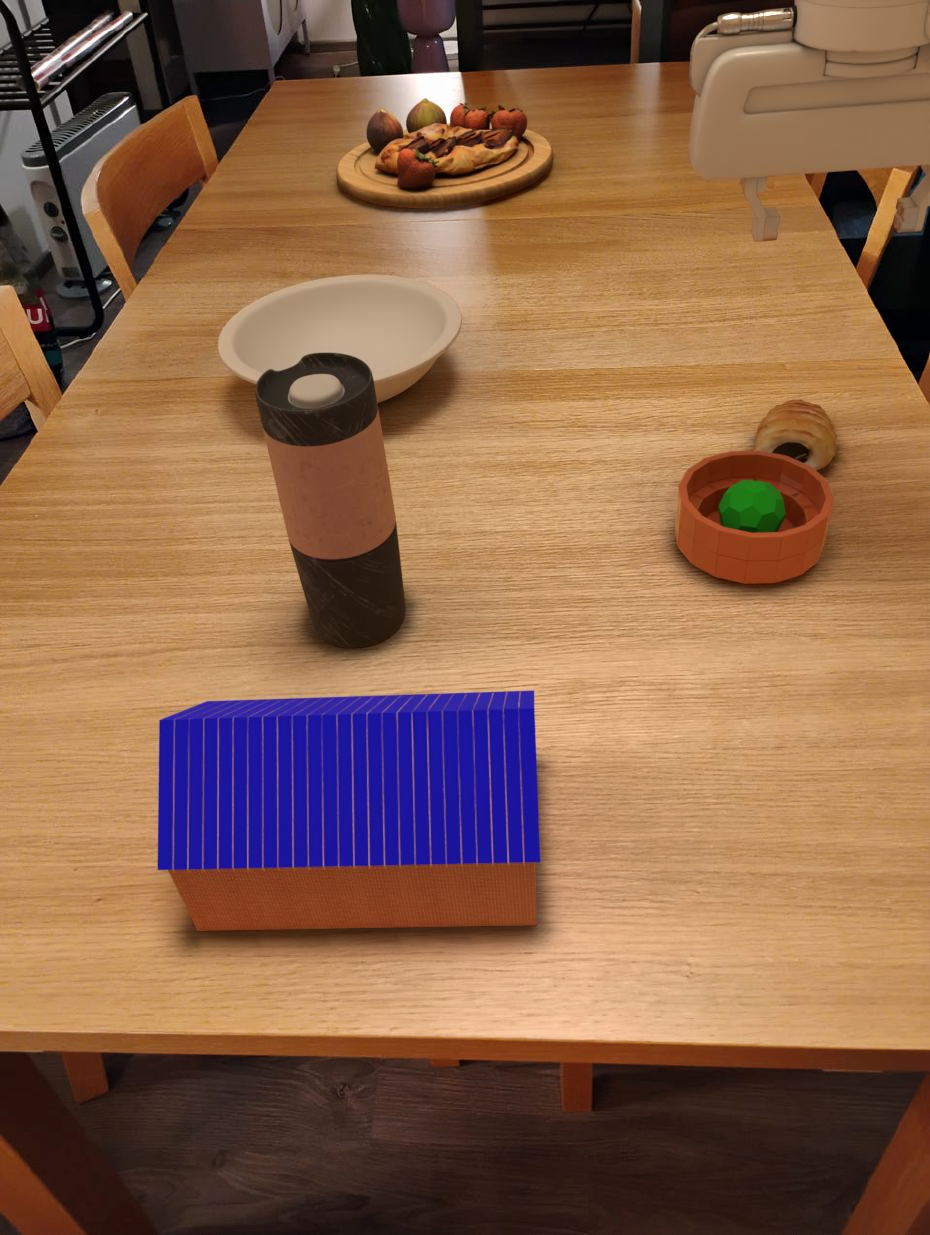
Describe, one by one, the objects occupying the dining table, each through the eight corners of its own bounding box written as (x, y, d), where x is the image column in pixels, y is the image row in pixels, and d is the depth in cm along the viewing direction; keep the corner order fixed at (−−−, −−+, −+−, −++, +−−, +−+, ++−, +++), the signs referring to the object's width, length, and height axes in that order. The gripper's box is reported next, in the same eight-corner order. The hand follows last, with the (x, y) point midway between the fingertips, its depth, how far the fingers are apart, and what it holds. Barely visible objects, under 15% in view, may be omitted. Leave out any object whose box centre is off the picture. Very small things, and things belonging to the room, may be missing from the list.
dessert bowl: (806, 499, 82) (816, 448, 79) (835, 588, 74) (847, 535, 71) (669, 502, 83) (673, 452, 80) (682, 590, 75) (687, 538, 72)
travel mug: (397, 654, 72) (358, 413, 59) (297, 648, 73) (235, 411, 60) (418, 585, 78) (385, 351, 64) (324, 580, 79) (273, 350, 65)
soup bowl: (263, 476, 91) (247, 413, 86) (211, 364, 107) (196, 306, 103) (504, 409, 96) (500, 346, 92) (419, 313, 113) (413, 256, 109)
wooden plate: (482, 226, 130) (478, 160, 125) (293, 196, 144) (282, 135, 138) (591, 149, 150) (591, 89, 144) (415, 128, 163) (410, 73, 158)
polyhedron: (759, 511, 80) (767, 461, 77) (793, 546, 77) (802, 495, 74) (704, 526, 80) (709, 477, 76) (735, 562, 76) (742, 512, 73)
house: (232, 769, 65) (185, 642, 57) (537, 761, 64) (531, 629, 56) (190, 936, 56) (128, 812, 49) (543, 930, 55) (537, 801, 47)
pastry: (761, 414, 92) (767, 377, 90) (838, 423, 90) (846, 385, 88) (748, 470, 86) (754, 432, 83) (830, 481, 84) (839, 442, 81)
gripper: (698, 29, 57) (684, 263, 67) (1074, -4, 55) (1005, 242, 64) (686, 4, 62) (675, 226, 71) (1033, -28, 60) (974, 205, 69)
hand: (834, 233), depth 68 cm, fingers open, 8 cm apart
